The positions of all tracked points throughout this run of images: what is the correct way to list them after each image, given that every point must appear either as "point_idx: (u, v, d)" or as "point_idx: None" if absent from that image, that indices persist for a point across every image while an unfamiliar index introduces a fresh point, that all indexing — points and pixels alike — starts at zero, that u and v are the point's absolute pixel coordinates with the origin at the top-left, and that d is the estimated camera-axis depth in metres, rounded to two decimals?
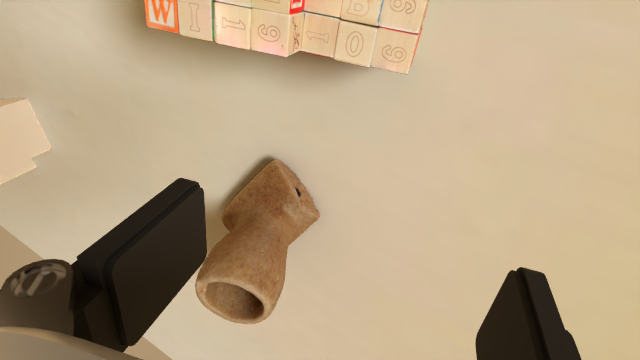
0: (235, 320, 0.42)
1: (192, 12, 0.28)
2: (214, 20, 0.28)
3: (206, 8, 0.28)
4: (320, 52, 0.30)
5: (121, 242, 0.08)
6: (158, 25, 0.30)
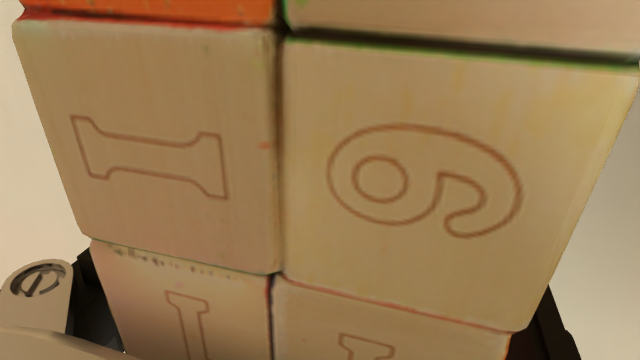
0: None
1: (171, 153, 0.04)
2: (180, 260, 0.05)
3: (219, 246, 0.05)
4: None
5: None
6: None
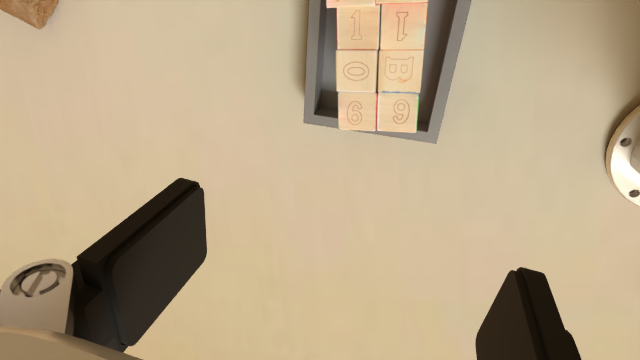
0: None
1: None
2: None
3: None
4: (339, 32, 0.26)
5: (121, 242, 0.08)
6: None
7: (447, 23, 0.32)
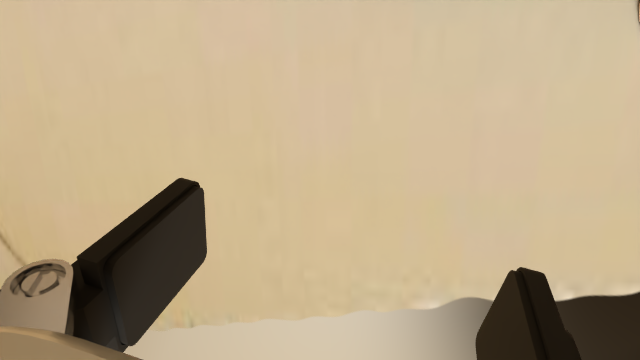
0: None
1: None
2: None
3: None
4: None
5: (121, 242, 0.08)
6: None
7: None
